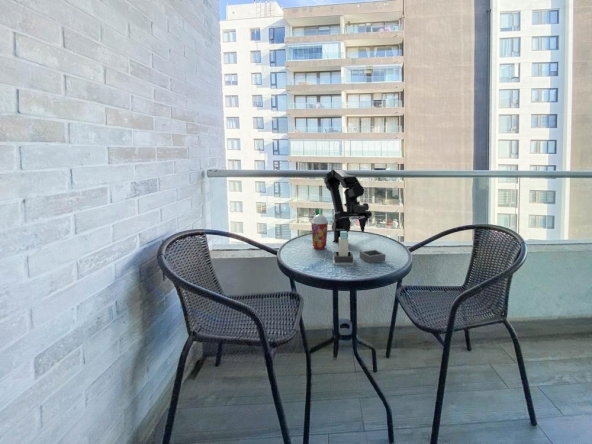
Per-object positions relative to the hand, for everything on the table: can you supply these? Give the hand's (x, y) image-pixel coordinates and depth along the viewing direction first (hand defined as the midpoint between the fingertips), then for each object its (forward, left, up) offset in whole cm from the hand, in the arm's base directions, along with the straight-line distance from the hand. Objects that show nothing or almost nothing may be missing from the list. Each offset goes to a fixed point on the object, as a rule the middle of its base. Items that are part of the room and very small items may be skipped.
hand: (355, 232), depth 197 cm
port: (+2, -16, -10) cm, 19 cm away
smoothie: (-18, -2, -10) cm, 21 cm away
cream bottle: (+2, -16, -9) cm, 19 cm away
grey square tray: (+12, -6, -10) cm, 17 cm away
